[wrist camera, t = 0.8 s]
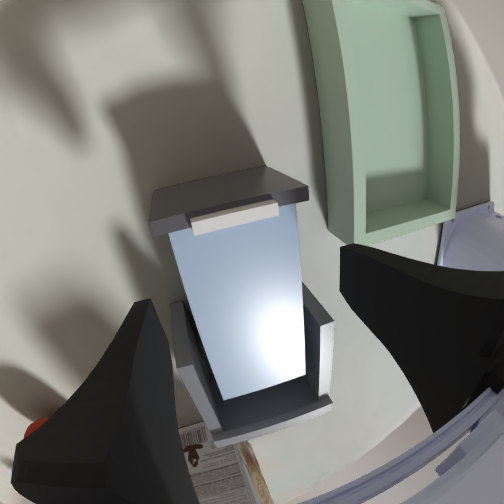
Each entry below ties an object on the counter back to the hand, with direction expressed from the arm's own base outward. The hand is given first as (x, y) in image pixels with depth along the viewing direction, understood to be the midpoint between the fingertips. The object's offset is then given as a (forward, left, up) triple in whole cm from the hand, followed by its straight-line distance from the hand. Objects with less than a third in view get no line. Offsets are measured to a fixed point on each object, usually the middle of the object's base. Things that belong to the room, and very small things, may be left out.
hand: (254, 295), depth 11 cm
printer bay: (0, +8, -7) cm, 11 cm away
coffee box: (+5, +22, -7) cm, 24 cm away
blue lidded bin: (0, +3, -7) cm, 7 cm away
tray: (-12, -6, -7) cm, 15 cm away
